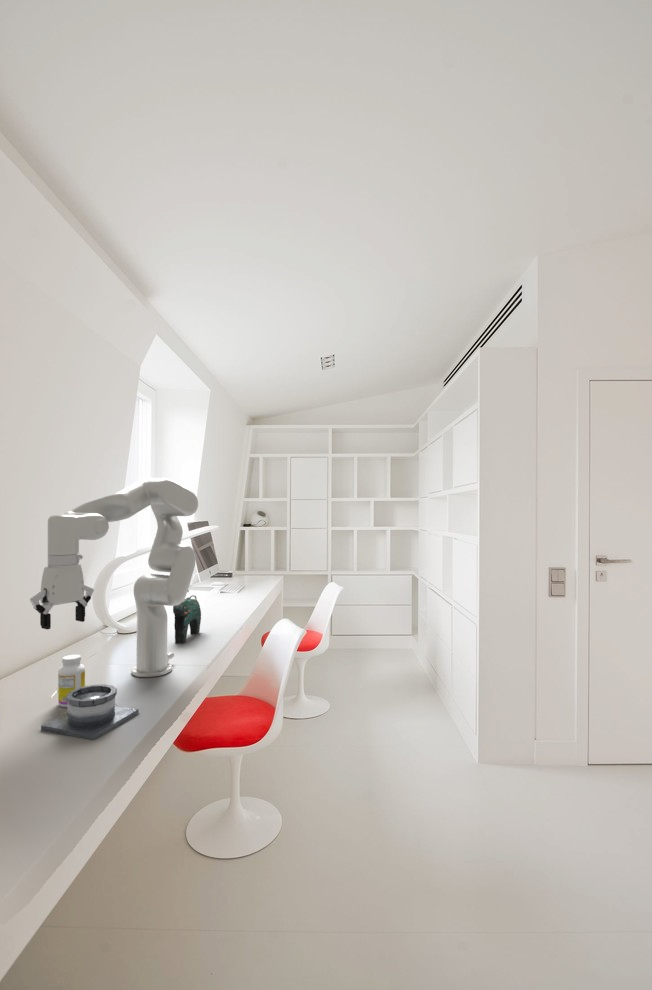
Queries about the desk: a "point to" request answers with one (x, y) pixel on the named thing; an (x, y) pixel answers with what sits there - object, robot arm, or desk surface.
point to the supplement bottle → (70, 677)
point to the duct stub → (90, 713)
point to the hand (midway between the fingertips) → (63, 624)
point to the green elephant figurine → (186, 618)
